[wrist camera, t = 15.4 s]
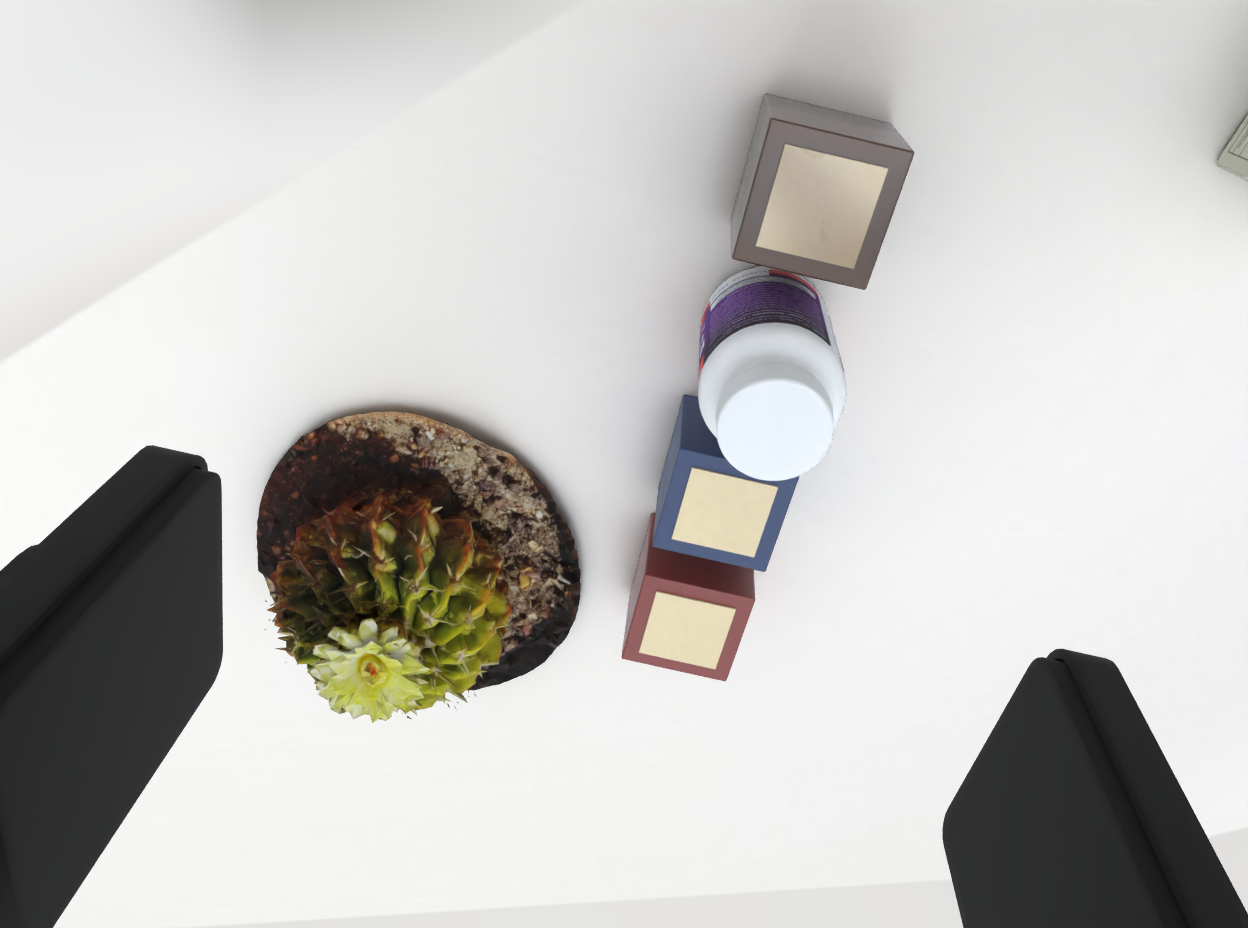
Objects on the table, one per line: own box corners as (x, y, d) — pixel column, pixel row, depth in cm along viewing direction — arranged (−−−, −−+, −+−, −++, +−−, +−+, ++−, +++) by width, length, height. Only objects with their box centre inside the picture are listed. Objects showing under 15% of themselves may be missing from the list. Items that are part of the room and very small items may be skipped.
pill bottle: (676, 305, 41) (665, 407, 32) (789, 238, 39) (808, 328, 30) (741, 403, 43) (746, 523, 34) (850, 344, 41) (884, 455, 32)
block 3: (764, 93, 36) (770, 117, 32) (892, 123, 36) (916, 152, 32) (730, 221, 39) (731, 260, 34) (849, 248, 39) (866, 292, 34)
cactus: (627, 654, 51) (608, 802, 42) (359, 705, 54) (293, 851, 46) (509, 366, 43) (457, 477, 34) (206, 447, 46) (92, 566, 38)
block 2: (651, 512, 46) (644, 575, 42) (752, 535, 46) (755, 600, 42) (629, 592, 49) (620, 660, 44) (725, 614, 49) (726, 683, 44)
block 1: (683, 394, 43) (679, 449, 38) (791, 418, 43) (800, 476, 38) (658, 486, 45) (651, 548, 41) (761, 509, 45) (765, 574, 41)
